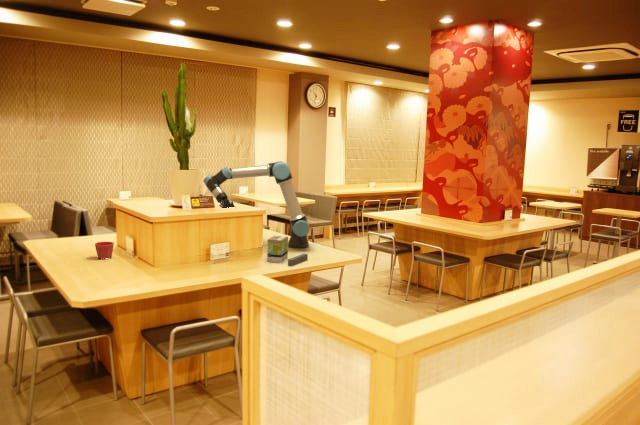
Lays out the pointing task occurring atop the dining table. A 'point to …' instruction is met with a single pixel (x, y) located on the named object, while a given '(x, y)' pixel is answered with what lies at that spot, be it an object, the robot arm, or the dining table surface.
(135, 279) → the dining table surface
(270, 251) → the tea box
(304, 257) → the rail
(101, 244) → the flower pot
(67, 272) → the dining table surface
